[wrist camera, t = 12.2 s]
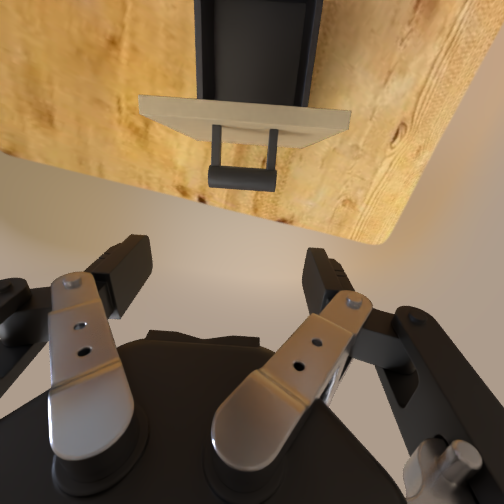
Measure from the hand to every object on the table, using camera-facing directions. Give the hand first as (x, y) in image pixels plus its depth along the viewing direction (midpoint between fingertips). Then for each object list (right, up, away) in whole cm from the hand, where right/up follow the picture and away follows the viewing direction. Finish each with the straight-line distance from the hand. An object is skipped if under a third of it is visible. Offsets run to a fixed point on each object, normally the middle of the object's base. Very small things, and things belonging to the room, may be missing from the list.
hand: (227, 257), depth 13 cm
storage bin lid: (+1, +13, +13) cm, 19 cm away
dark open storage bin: (+2, +29, +28) cm, 40 cm away
